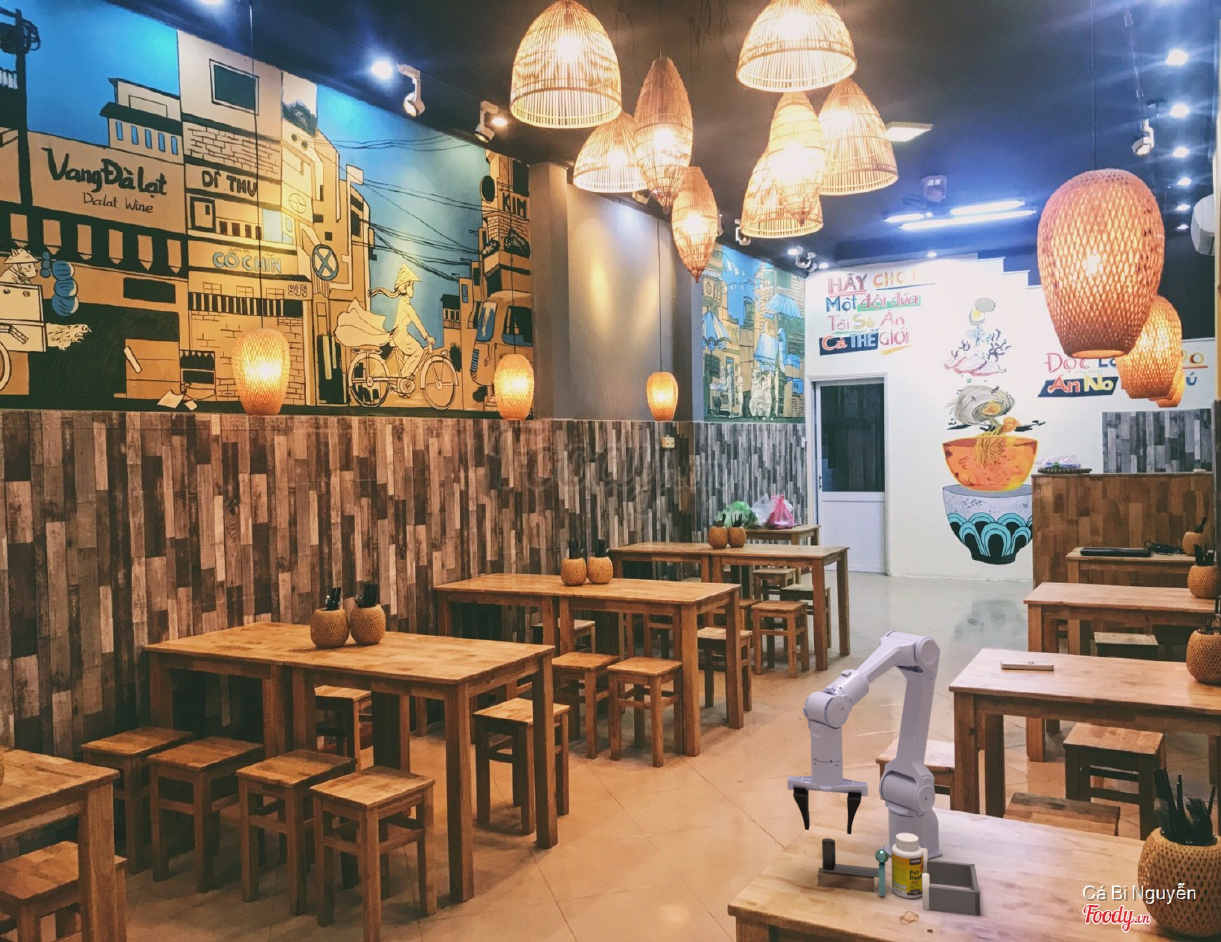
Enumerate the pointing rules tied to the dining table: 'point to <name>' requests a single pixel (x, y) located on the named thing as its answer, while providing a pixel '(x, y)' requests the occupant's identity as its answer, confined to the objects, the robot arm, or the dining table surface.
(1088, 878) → the dining table surface
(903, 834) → the supplement bottle
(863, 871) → the slider rail assembly
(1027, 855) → the dining table surface
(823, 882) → the guide
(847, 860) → the dining table surface
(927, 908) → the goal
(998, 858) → the dining table surface
